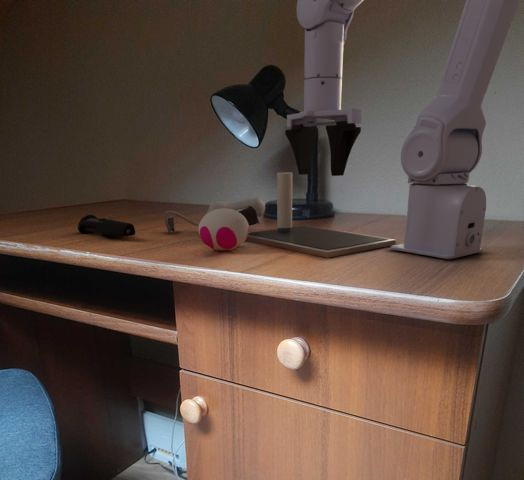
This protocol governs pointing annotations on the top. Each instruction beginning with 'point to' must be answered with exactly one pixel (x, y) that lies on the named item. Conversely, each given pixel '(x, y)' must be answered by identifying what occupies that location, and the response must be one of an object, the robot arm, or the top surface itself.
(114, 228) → the electric trimmer
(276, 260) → the top surface
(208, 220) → the stress ball
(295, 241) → the tablet
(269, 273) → the top surface
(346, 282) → the top surface
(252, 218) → the white corded device
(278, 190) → the beige cylinder
